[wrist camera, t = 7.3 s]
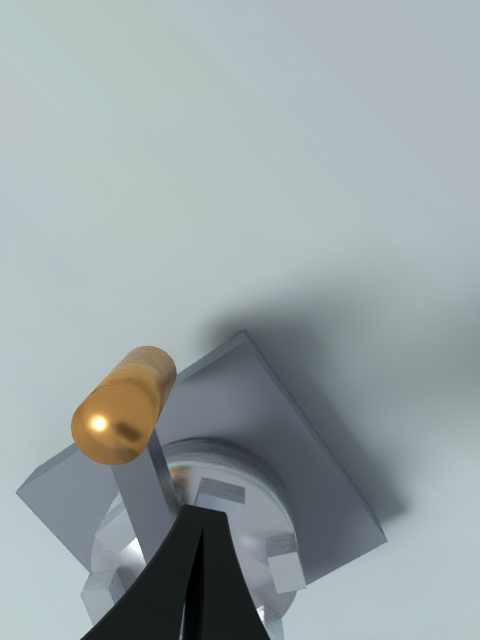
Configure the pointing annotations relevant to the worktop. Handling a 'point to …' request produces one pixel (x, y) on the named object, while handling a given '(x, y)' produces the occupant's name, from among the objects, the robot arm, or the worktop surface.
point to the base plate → (234, 428)
